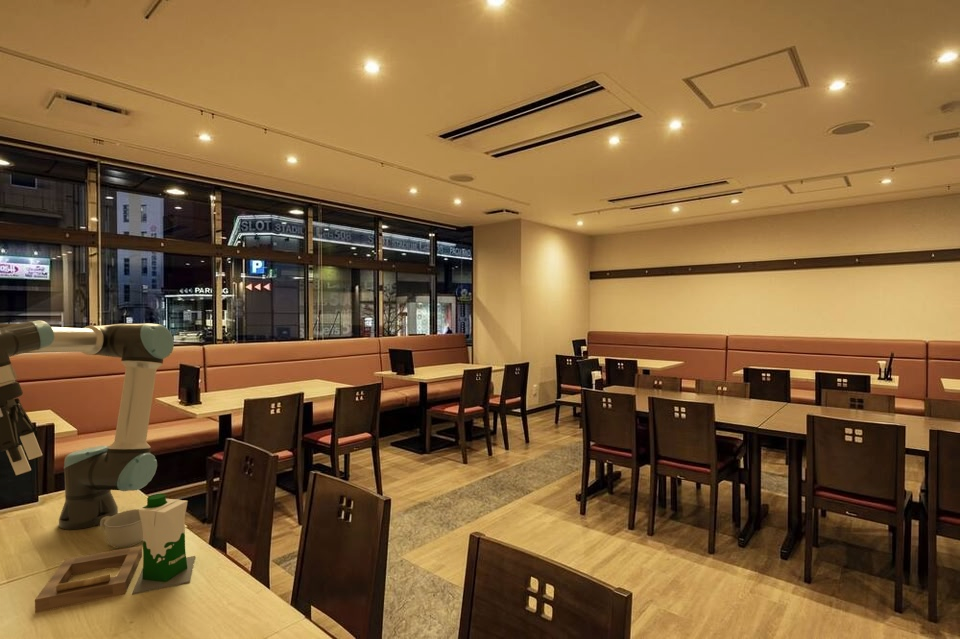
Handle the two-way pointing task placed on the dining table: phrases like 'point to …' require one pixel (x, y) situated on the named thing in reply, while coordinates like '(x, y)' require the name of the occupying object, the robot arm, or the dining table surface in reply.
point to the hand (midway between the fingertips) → (30, 464)
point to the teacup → (123, 529)
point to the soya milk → (163, 538)
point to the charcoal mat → (154, 585)
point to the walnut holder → (89, 579)
